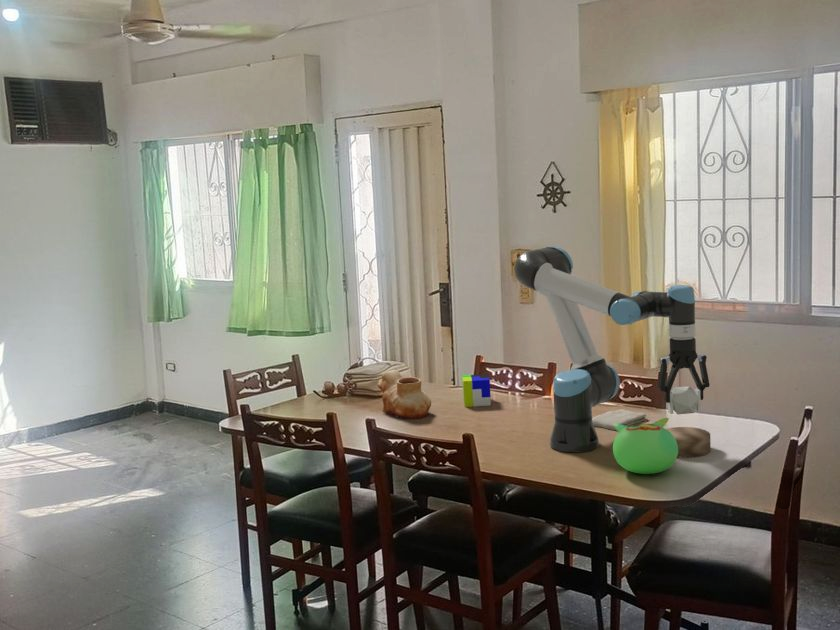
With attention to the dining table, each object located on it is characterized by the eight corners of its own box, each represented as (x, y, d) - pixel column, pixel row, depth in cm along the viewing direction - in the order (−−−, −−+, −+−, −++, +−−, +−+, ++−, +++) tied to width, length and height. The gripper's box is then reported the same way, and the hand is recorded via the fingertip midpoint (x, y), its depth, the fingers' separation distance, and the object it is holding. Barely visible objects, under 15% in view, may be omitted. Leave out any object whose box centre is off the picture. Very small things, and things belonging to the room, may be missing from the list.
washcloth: (648, 420, 313) (648, 411, 312) (617, 432, 301) (616, 423, 300) (619, 415, 322) (619, 406, 321) (588, 426, 310) (587, 418, 309)
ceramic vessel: (401, 402, 358) (398, 365, 355) (439, 414, 336) (437, 375, 334) (371, 409, 350) (368, 371, 348) (408, 422, 328) (405, 381, 326)
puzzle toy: (491, 405, 344) (489, 379, 343) (464, 407, 345) (463, 381, 343) (489, 399, 354) (488, 373, 353) (463, 400, 354) (462, 375, 353)
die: (694, 419, 269) (707, 390, 271) (668, 406, 270) (681, 377, 272) (686, 422, 277) (698, 394, 279) (660, 409, 278) (672, 381, 280)
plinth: (668, 459, 270) (668, 443, 269) (652, 444, 284) (652, 429, 284) (718, 455, 270) (718, 438, 270) (699, 440, 285) (699, 425, 284)
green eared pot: (615, 481, 254) (613, 430, 251) (612, 462, 270) (610, 414, 268) (681, 481, 251) (680, 429, 248) (674, 461, 267) (673, 413, 265)
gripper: (652, 342, 268) (654, 417, 271) (721, 336, 269) (722, 411, 272) (644, 337, 275) (647, 411, 279) (711, 332, 276) (712, 405, 280)
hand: (684, 411), depth 275 cm, fingers closed on die, 8 cm apart
